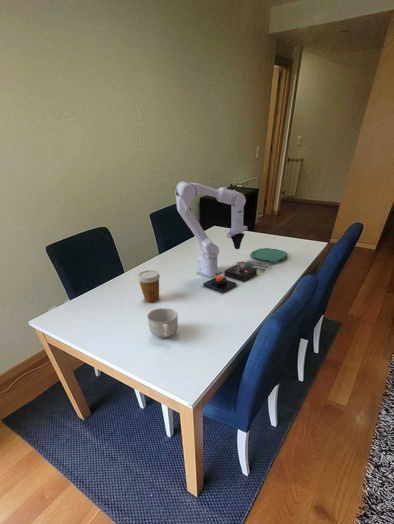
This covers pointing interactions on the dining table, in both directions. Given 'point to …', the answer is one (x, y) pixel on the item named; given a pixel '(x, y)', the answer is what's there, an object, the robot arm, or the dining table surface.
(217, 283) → the button housing
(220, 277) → the button
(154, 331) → the teacup
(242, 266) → the oven dial
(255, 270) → the dial panel
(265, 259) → the green plate with cutlery
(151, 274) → the disposable coffee cup
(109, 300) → the dining table surface
